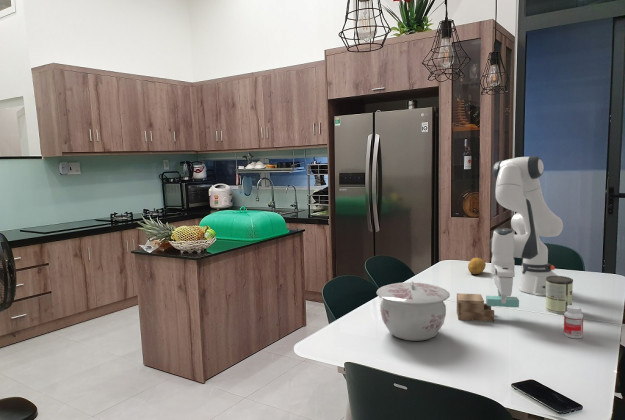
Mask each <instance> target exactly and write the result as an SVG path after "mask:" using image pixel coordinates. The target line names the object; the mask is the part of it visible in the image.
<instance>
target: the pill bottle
mask: <svg viewBox="0 0 625 420" xmlns="http://www.w3.org/2000/svg"><path fill="white" fill-rule="evenodd" d="M563 315H564V316H563V335H564V336H565V337H568V338H570V339H580V338H583V336H584V335H583V334H584V314H583V313H582V307H581V306H579V305H575V304H572V305H568V306H567V311H566V312H565V313H564V314H563Z"/></svg>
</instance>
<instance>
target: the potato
mask: <svg viewBox="0 0 625 420" xmlns="http://www.w3.org/2000/svg"><path fill="white" fill-rule="evenodd" d="M467 268H468V272H470V273H471V274H472V275H480V274H481V273H483V272H484V270H485V269H486V261H485V260H484V259H482V258H480V257H474V258H471V259H470V260H469V262H468V264H467Z"/></svg>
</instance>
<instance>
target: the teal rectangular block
mask: <svg viewBox="0 0 625 420" xmlns="http://www.w3.org/2000/svg"><path fill="white" fill-rule="evenodd" d="M485 299H486V300H485V303H486V304H487V306H491V307H499V308H502V307H503V308H520V300H519V298H518V297H517V296H507V298H506V303H501V296H498V295H486V296H485Z"/></svg>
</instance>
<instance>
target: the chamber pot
mask: <svg viewBox="0 0 625 420" xmlns="http://www.w3.org/2000/svg"><path fill="white" fill-rule="evenodd" d="M376 295H377V296H378V297H379V298H380V299H382V300H381V303H380V305H379V306H380V310H379V311H380V314H381V320H382V322H383V324H384V325H385V328H387V330H388V331H389V333H390V334H391V335H392V336H394V337H396V338H398V339H400V340H401V339H402V340H405V341H410V342H413V341H414V342H420V341H425V340H430V339H432V338H434V337H435V336H437V334H438V333H439V331H440V330H441V329H442V327H443V325H444V324H445V319H446V315H447V313H446V312H447V311H446V310H447V309H446V308H447V307H446V304H445V302H444V301H446V300H448V299H449V298H450V297H451V296H450V295H451V294H450V292H449V291H448V290H447V289H446V288H443V287H440V286H438V285H434V284H429V283H423V282H414V281H411V282H407V281H406V282H395V283H391V284H387V285H383V286H381V287H379V288H378V289H377V291H376Z"/></svg>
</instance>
